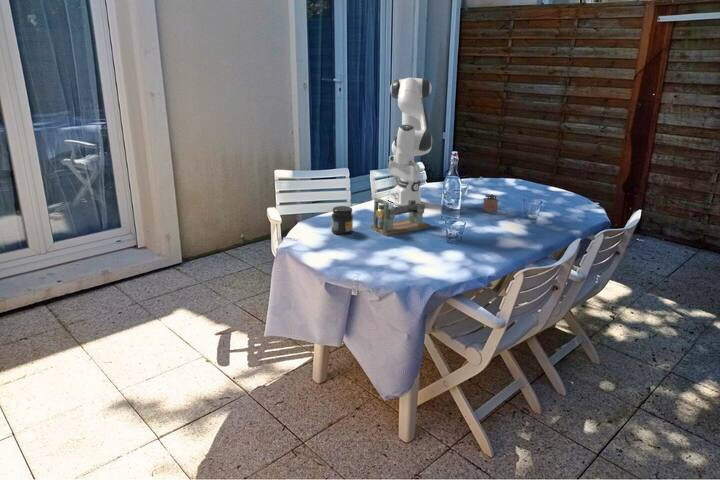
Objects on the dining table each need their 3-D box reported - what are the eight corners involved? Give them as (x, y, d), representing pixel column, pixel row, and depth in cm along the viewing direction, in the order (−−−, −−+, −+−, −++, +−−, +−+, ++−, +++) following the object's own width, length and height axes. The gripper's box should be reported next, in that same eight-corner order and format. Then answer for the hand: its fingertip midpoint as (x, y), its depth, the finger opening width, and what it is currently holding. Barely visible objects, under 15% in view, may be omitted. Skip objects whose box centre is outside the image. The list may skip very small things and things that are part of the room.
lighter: (496, 211, 314) (498, 194, 311) (497, 212, 311) (499, 195, 308) (482, 210, 315) (484, 193, 311) (482, 212, 312) (484, 194, 308)
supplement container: (357, 232, 272) (357, 208, 268) (342, 236, 265) (342, 213, 261) (342, 227, 279) (342, 204, 275) (327, 231, 272) (327, 208, 268)
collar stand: (370, 229, 278) (372, 197, 272) (413, 220, 293) (415, 190, 287) (386, 236, 267) (388, 203, 262) (430, 227, 283) (432, 196, 277)
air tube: (381, 218, 268) (380, 209, 267) (376, 218, 272) (375, 209, 271) (425, 210, 283) (424, 202, 283) (419, 210, 287) (419, 201, 286)
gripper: (423, 162, 262) (421, 191, 267) (396, 154, 278) (395, 181, 282) (413, 164, 259) (411, 192, 263) (386, 156, 274) (385, 183, 279)
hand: (402, 186), depth 273 cm, fingers open, 8 cm apart
